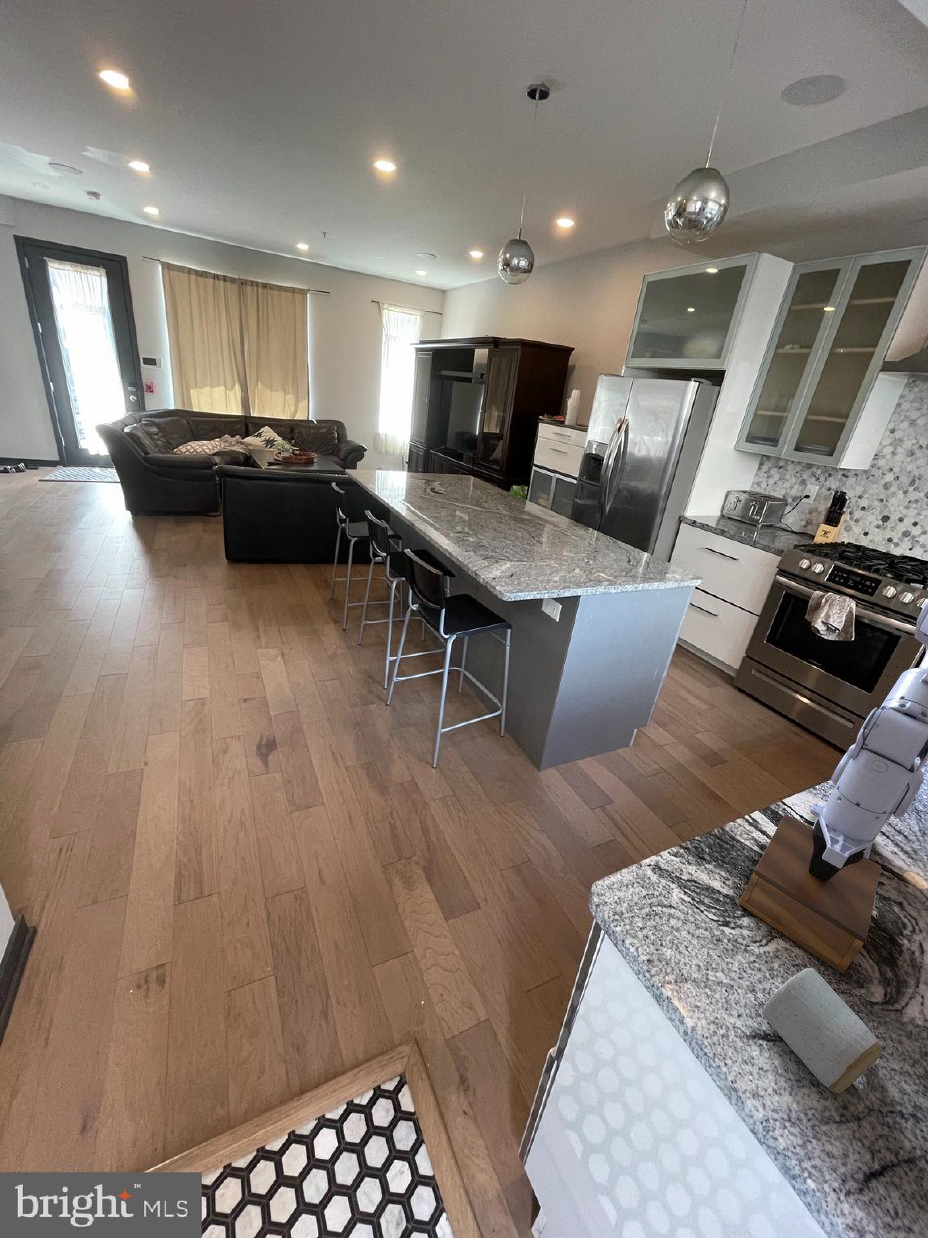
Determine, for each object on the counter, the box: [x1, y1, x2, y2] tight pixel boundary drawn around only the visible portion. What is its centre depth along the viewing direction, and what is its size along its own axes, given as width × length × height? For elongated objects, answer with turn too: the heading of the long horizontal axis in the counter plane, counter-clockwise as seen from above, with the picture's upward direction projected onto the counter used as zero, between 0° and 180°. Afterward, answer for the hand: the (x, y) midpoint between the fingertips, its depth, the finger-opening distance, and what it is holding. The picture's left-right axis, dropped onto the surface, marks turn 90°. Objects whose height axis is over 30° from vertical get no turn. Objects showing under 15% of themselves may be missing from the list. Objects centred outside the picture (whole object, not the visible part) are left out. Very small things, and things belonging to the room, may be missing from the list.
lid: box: [753, 813, 882, 943], centre depth 70 cm, size 16×13×1 cm
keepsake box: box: [738, 872, 865, 975], centre depth 71 cm, size 16×13×6 cm
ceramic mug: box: [761, 967, 883, 1094], centre depth 54 cm, size 11×8×8 cm
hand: (817, 874), depth 69 cm, fingers closed, pressing on lid
